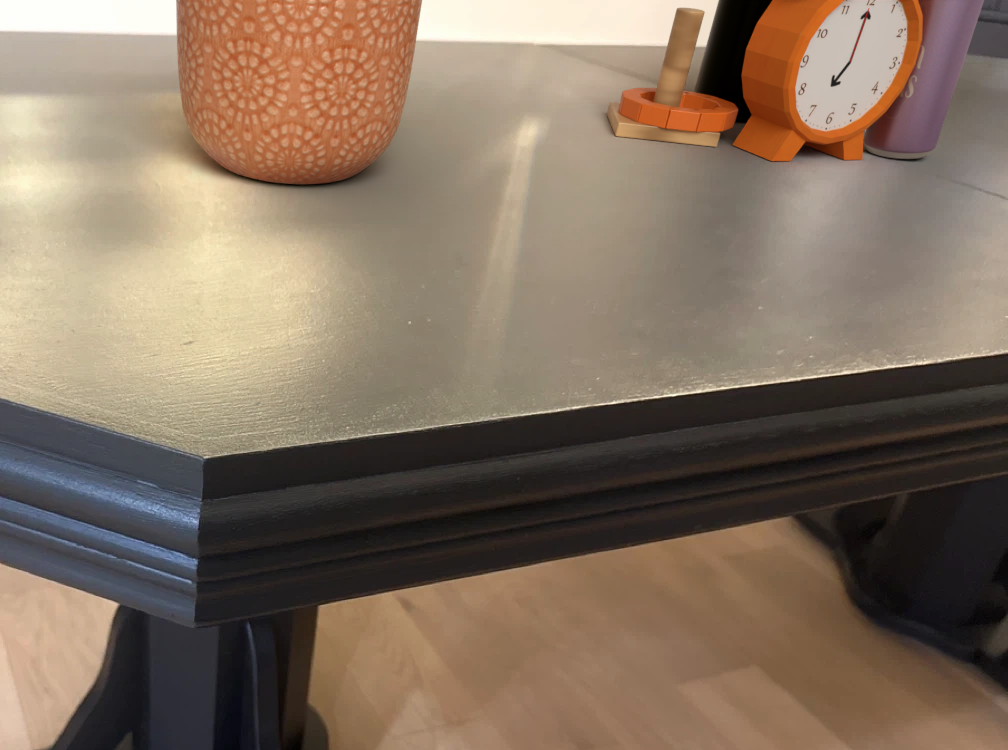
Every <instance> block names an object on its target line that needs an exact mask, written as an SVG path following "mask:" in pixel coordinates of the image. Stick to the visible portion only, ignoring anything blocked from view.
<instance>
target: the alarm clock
mask: <svg viewBox="0 0 1008 750" xmlns="http://www.w3.org/2000/svg"><path fill="white" fill-rule="evenodd" d="M922 24H923V15H922V11H921V8H920V5H919V2H918V0H772V2H771V3H770V5H769V6H768V8H767V9H766V11H765V12H764V14H763V15H762V16H761V18H760V19H759V21H758V22H757V24H756V27H755V29H754V32H753V34H752V36H751V39H750V41H749V44H748V46H747V48H746V53H745V58H744V64H743V70H742V85H743V96H744V99H745V102H746V104H747V106H748V108H749V110H750V112H751V114H752V115H751V117H750V118H749V119H747V122H746V123H745V124H744V126H743V128H742V129H741V131H740V133H739V134H738V135H737V136H736V137H735V140H734V141H733V143H732V146H734V147H736V148H738V149H741V150H744V151H746V152H748V153H751V154H753V155H756V156H758V157H760V158H763V159H765V160H768V161H770V162H791V161H793V159H794V157H795V156H796V155H797V154H798V152H799V151H800V150H801V148H802V147H803V146H807V147H809V148H812V149H815V150H817V151H819V152H822V153H825V154H827V155H830V156H833V157H835V158H838V159H839V160H842V161H843V160H844V161H858V160H859V161H862V160H864V159H863V158H864V157H863V156H864V141H863V139H864V136H865V131H866V129H867V128H868V127H869V126H871V125H872V124H873V123H874V122H875V121H876V120H877V119H878V118H880V117H881V116H882V115H883V114H884V113H885V112H886V111H887V110H888V108H889V107H890V106H891V105H892V103H893V102H894V101H895V99H896V98H897V97H898V95H899V94H900V93H901V91H902V90H903V88H904V86H905V84H906V82H907V80H908V78H909V76H910V74H911V72H912V70H913V68H914V66H915V64H916V60H917V56H918V53H919V49H920V45H921V42H922Z"/></svg>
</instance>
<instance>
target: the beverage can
mask: <svg viewBox="0 0 1008 750" xmlns="http://www.w3.org/2000/svg"><path fill="white" fill-rule="evenodd" d="M918 2H919V5H920V8H921V11H922V15H923V24H922V42H921V45H920V49H919V53H918V56H917V60H916V64H915V66H914V68H913V70H912V72H911V74H910V76H909V78H908V80H907V82H906V84H905V86H904V88H903V90H902V91H901V93H900V94H899V95H898V97H897V98H896V99H895V101H894V102H893V103H892V105H891V106H890V107H889V108H888V110H887V111H886V112H885V113H884V114H883V115H882V116H881V117H880V118H878V119H877V120H876V121H875V122H874V123H873V124H872V125H871V126H869V127H868V128H867V129H866V130H865V132H864V137H863V146H864V148H865V150H866V151H867V152H869V153H870V154H872V155H876V156H880V157H883V158H884V157H885V158H889V159H901V160H915V159H922V158H925V157H927V156H929V155H930V154H931V153H932V152H933V151H934V150H935V149H936V147H937V145H938V141H939V139H940V135H941V133H942V129H943V127H944V123H945V120H946V117H947V114H948V112H949V108H950V105H951V102H952V99H953V97H954V93H955V89H956V87H957V84H958V81H959V78H960V75H961V72H962V69H963V66H964V63H965V59H966V57H967V53H968V51H969V47H970V45H971V42H972V39H973V35H974V32H975V30H976V26H977V23H978V20H979V17H980V14H981V11H982V8H983V5H984V2H985V0H918Z"/></svg>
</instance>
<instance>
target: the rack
mask: <svg viewBox="0 0 1008 750" xmlns="http://www.w3.org/2000/svg"><path fill="white" fill-rule="evenodd" d="M705 13H706V12H705V10H703V9H699V8H694V7H693V8H692V7H677V8H676V11H675V14H674V17H673V21H672V26H671V30H670V33H669V34H670V35H669V38H668V41H667V46H666V50H665V53H664V57H663V61H662V65H661V69H660V72H659V77H658V81H657V85H656V87H655V88H656V92H655V96H654V100H653V102H654V103H659V104H663V105H668V106H673V107H679V106H680V102H681V99H682V95H683V91H685V88H686V84H687V80H688V77H689V73H690V69H691V65H692V61H693V57H694V53H695V51H696V46H697V42H698V38H699V35H700V32H701V27H702V24H703V21H704V16H705ZM619 104H620V102H612V101H610V102H609V103H608V107H607V112H606V116H607V119H608V121H609V124H610V126H611V128H612V131H613V133H614V136H615V137H621V138H627V139H637V140H647V141H656V142H666V143H676V144H683V145H692V146H693V145H694V146H704V147H712V148H717V147H718V145H719V141H720V137H721V131H720V132H696V131H695V132H692V131H684V130H675V129H667V128H661V127H657V126H652V125H648V124H644V123H639V122H636V121H634V120H632V119H629V118H627V117H625V116H622V115H621V114H620V112H619Z"/></svg>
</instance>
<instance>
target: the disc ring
mask: <svg viewBox="0 0 1008 750" xmlns="http://www.w3.org/2000/svg"><path fill="white" fill-rule="evenodd" d="M656 88H657V87H634V88H630V89H625V90H623V91H622V92H621V95H620V101H619V103H620V104H619V112H620V114H621V115H622V116H625V117H627V118H629V119H632V120H634V121H636V122H639V123H644V124H648V125H652V126H657V127H661V128H667V129H675V130H684V131H692V132H695V131H696V132H720V133H721V132H724V131H727V130H731V129H733V128H734V126H735V124H736V120H737V119H736V116H737V113H738V108H737V107H736V105H735V104H734V103H732V102H729V101H726V100H723V99H720V98H718V97H714V96H710V95H705V94H700V93H696V92H694V91H689V90H684V91H683V95H682V99H681V102H680V106H679V107H673V106H668V105H663V104H659V103H654V102H653V100H654V96H655V92H656Z"/></svg>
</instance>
